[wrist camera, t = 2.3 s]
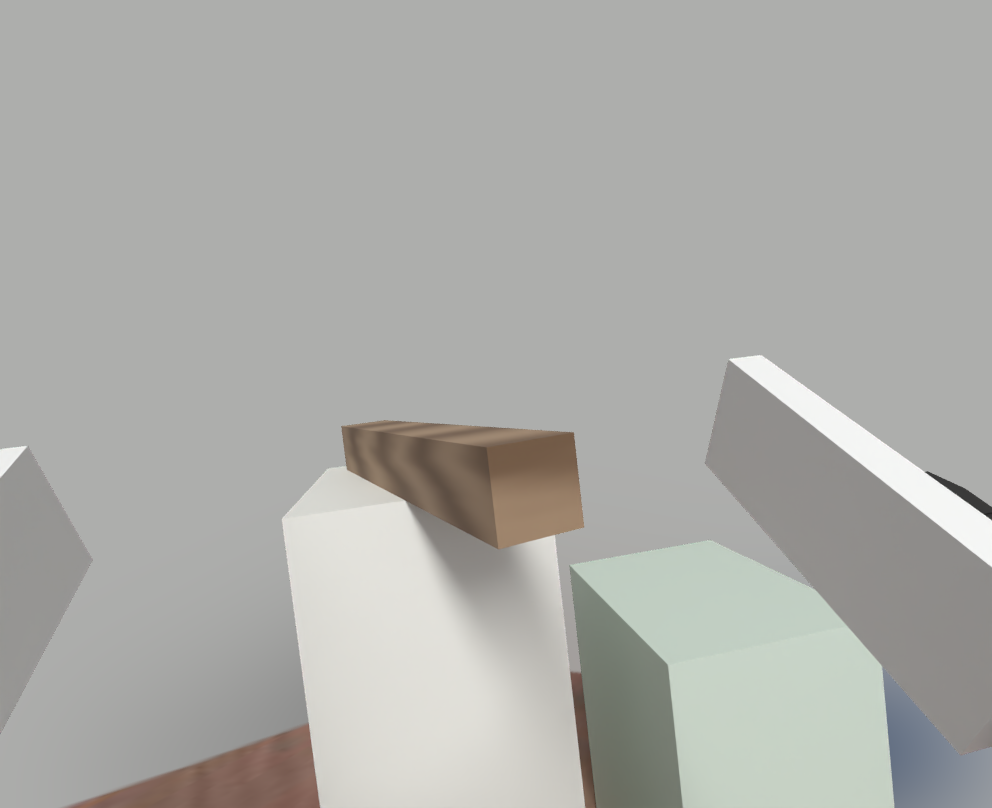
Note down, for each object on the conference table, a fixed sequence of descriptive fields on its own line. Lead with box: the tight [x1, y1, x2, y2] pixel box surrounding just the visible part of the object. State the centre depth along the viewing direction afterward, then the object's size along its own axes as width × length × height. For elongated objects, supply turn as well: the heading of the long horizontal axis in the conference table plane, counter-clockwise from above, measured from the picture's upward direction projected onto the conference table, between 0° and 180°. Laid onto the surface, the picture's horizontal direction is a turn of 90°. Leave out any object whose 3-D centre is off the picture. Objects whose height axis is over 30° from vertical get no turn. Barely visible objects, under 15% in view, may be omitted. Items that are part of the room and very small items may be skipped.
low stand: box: [570, 540, 894, 808], centre depth 37 cm, size 16×12×20 cm
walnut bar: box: [342, 420, 584, 550], centre depth 28 cm, size 24×3×3 cm, turn 25°
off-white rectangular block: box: [282, 466, 585, 808], centre depth 34 cm, size 16×12×30 cm
